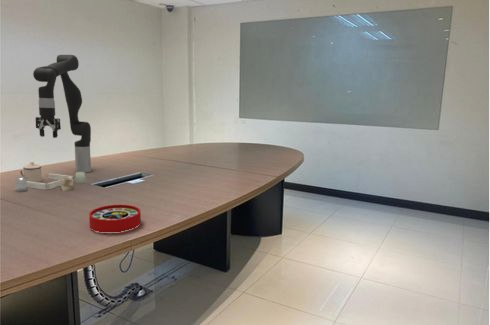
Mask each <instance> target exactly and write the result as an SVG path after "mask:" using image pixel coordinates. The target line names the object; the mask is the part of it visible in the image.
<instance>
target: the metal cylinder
mask: <svg viewBox="0 0 490 325" xmlns="http://www.w3.org/2000/svg"><path fill="white" fill-rule="evenodd" d="M14 181H15V191H16V192H17V193H23V192H27V191H28V187H27V180H26V177H22V176H17V177H15V178H14Z"/></svg>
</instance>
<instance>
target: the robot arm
mask: <svg viewBox="0 0 490 325" xmlns="http://www.w3.org/2000/svg"><path fill="white" fill-rule="evenodd" d="M79 63H80V62H79V59H78V57H77V56H76V55H74V54H58V55H57V56H56V62H53V63H50V64H48V65H46V66H45V65H43V66H39V67H36V68H35V69H34V71H33V73H32V76H33V78H34V79H35V81H37V82H41V83H46V84H45V86H44V85H42V86H40V87H38V90H37V91H38V112H39V116H36V117H35V129H38V130H39V137H45V128H46V127H47V126H48V127H50V128H51V129H52V138H53V139H57V138H58V131H59V130H62V129H61V119H60V118H58V117H57V118H55V116H56V103H55V98H54V97H55V95H54V91H55V85H56V81H57V77H60V79H61V82H62V85H63V93H64V98H65V101H66V102H65V103H66V106H67V111H68V116H69V126H70V131H71V133H72V134H73V136H79V137H81V138H80V139H79V140H76V141H75V142H74V159H75V161H74V162H75V173H76V172H85V174H86V173H92V160H91V158H92V156H91V141H92V140H91V139H92V137H91V136H92V134H91V133H92V128H91V124H90V123H89V122H88V121H80V120H79V111H80V109H81V107H82V103H83V98H82V97H83V96H82V93H81V89H80V88H79V87H78V86H77V85H76V84H75V82H74V81H73V80H72V79H71V78H70V75H69V73H68V72H70V71H77V70H78V68H79Z"/></svg>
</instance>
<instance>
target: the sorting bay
mask: <svg viewBox="0 0 490 325" xmlns="http://www.w3.org/2000/svg"><path fill="white" fill-rule="evenodd" d="M47 175H48V179H49V180H55V181H52V182H51V181H50V182H48V183H44V182H30V181H27V188H31V189H38V190H45V191H48V190H51V189H54V188H55V189H56V188H58V187H61V180H60V179H61V178H72V179H73V183H74V182H76V175H75V176H73V175H65V174H58V173H57V174H56V173H48V174H47Z"/></svg>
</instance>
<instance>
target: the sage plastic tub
mask: <svg viewBox="0 0 490 325" xmlns="http://www.w3.org/2000/svg"><path fill="white" fill-rule="evenodd" d="M85 183H86V173H85V172H76V171H75V184H77V185H79V184H80V185H81V184H85Z"/></svg>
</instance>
